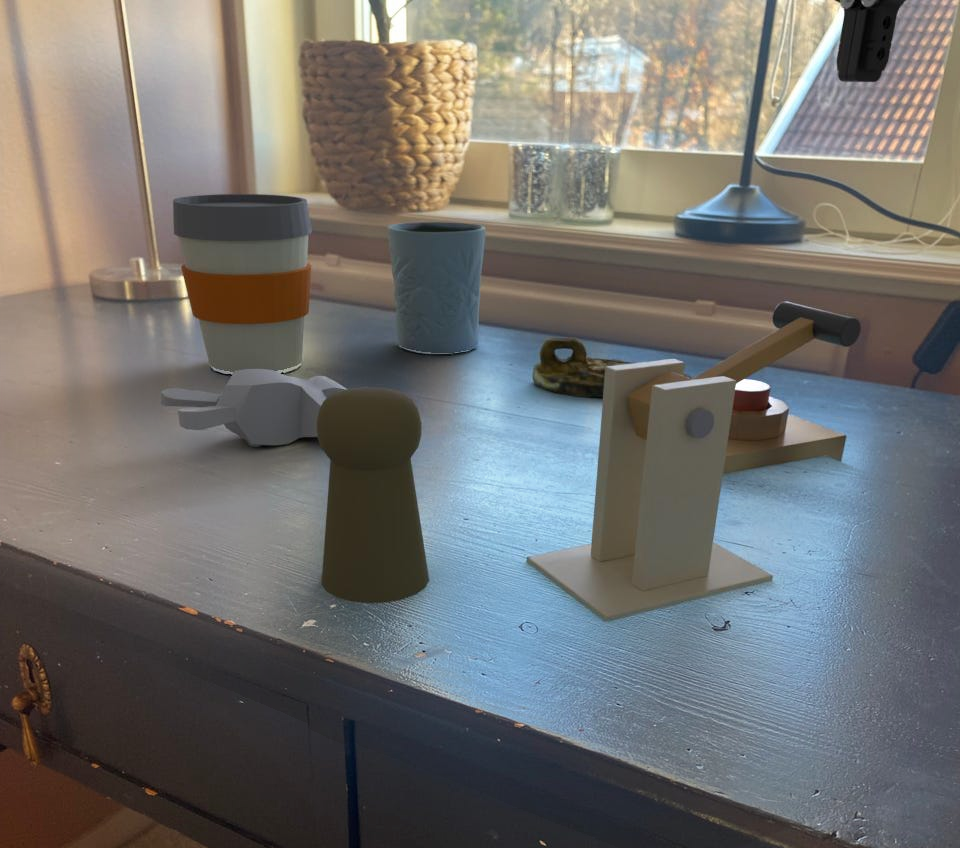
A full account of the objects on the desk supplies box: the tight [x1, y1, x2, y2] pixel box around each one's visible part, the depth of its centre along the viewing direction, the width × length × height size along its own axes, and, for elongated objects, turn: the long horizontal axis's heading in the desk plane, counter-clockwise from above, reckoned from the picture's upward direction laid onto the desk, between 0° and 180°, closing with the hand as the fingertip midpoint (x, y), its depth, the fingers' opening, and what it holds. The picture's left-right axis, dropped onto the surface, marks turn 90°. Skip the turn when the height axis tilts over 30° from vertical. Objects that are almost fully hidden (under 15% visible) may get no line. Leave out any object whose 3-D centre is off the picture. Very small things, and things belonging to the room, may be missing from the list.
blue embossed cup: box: [387, 221, 487, 353], centre depth 102 cm, size 10×10×12 cm
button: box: [732, 378, 772, 412], centre depth 72 cm, size 4×4×2 cm
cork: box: [317, 386, 430, 604], centre depth 50 cm, size 6×6×11 cm
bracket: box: [525, 358, 774, 623], centre depth 51 cm, size 11×8×12 cm
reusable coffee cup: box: [172, 193, 313, 372], centre depth 93 cm, size 13×12×15 cm
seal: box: [532, 336, 693, 398], centre depth 90 cm, size 9×5×15 cm
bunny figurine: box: [160, 369, 348, 448], centre depth 75 cm, size 10×5×15 cm
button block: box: [723, 396, 847, 475], centre depth 73 cm, size 12×10×4 cm
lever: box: [627, 300, 862, 440], centre depth 50 cm, size 12×5×2 cm, turn 118°
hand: (858, 81), depth 60 cm, fingers closed
